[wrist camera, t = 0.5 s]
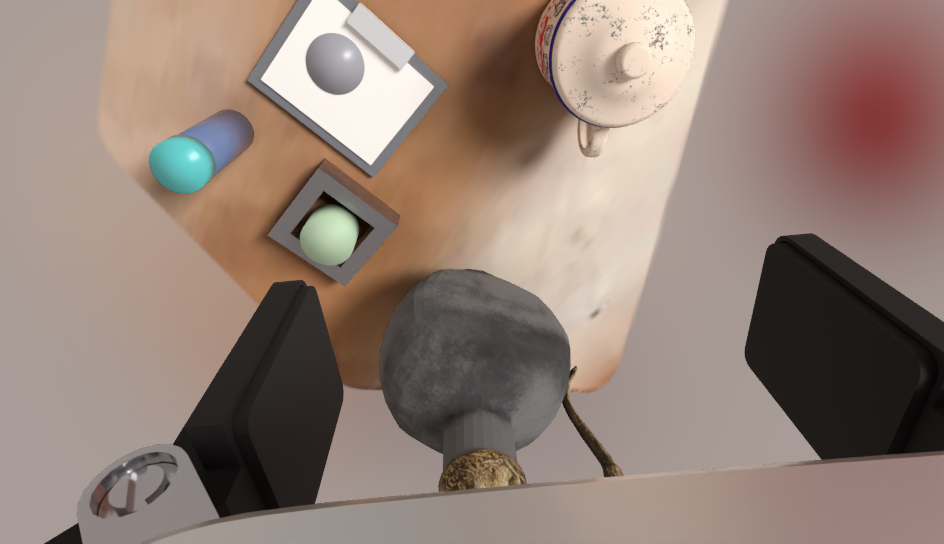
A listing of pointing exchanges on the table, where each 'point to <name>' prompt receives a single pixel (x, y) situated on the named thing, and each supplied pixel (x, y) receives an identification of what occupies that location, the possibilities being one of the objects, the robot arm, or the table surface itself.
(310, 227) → the button
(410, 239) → the table surface
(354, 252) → the button base
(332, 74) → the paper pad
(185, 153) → the cylinder
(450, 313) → the pitcher
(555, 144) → the table surface
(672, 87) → the teacup with lid
